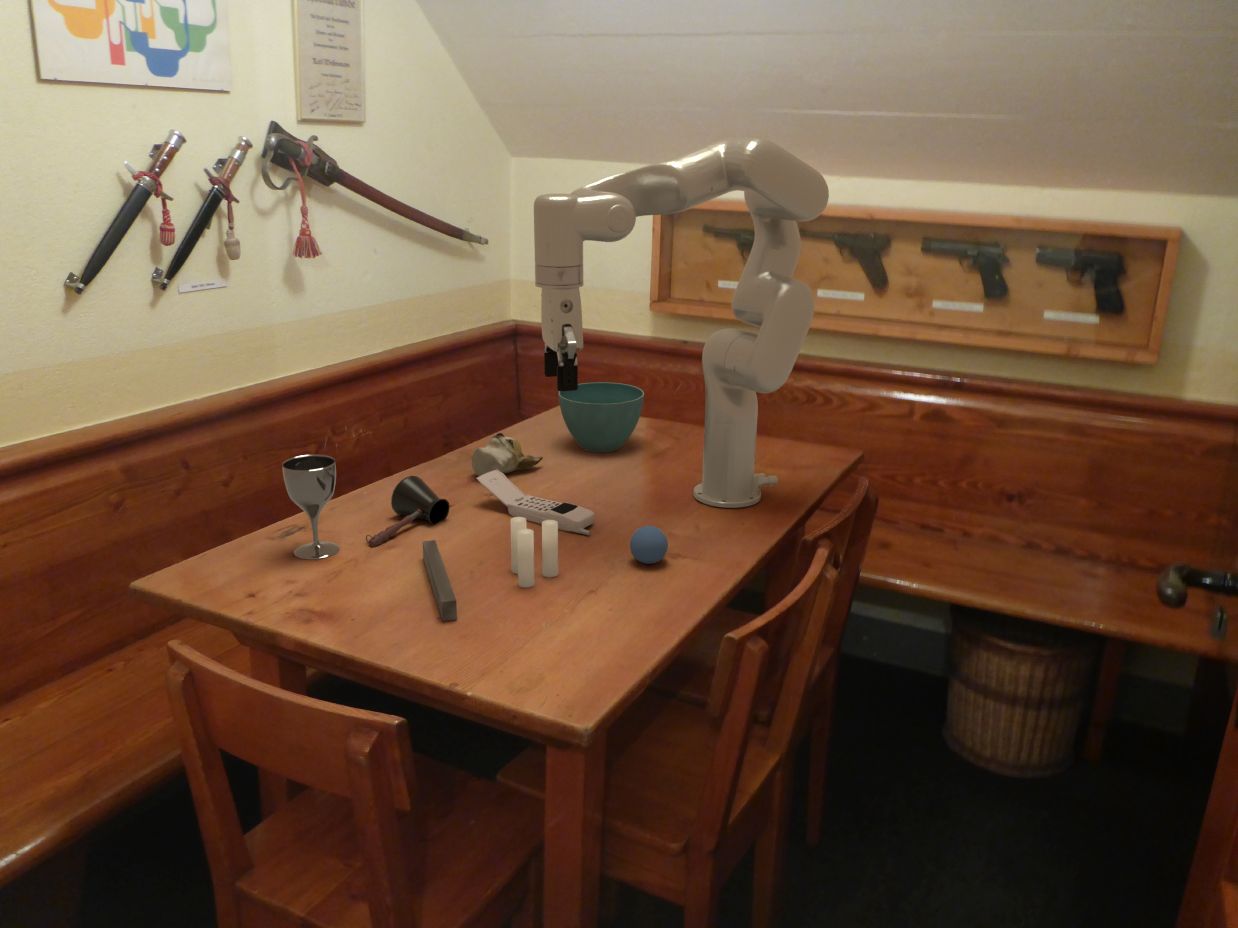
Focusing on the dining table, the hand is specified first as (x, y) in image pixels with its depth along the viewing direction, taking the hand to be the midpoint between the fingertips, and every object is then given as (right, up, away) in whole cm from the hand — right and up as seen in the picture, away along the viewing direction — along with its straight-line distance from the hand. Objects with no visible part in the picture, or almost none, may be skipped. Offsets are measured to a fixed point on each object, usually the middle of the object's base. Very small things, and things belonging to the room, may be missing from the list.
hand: (560, 383), depth 158 cm
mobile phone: (-5, -23, +15) cm, 28 cm away
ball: (+14, -26, -4) cm, 30 cm away
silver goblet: (-39, -27, 0) cm, 48 cm away
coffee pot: (-28, -24, +10) cm, 39 cm away
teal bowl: (+5, -10, +54) cm, 56 cm away
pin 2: (-4, -31, -11) cm, 33 cm away
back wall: (-17, -31, -12) cm, 38 cm away
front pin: (-1, -30, -7) cm, 31 cm away
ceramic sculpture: (-14, -15, +38) cm, 43 cm away
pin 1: (-6, -30, -6) cm, 31 cm away
